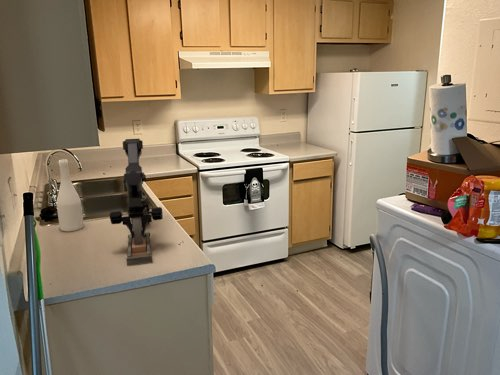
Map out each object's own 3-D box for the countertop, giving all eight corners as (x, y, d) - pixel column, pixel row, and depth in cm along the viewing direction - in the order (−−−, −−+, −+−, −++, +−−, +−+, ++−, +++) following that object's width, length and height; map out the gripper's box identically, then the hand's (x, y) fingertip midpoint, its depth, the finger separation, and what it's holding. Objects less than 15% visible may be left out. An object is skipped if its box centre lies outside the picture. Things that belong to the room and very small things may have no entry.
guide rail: (128, 240, 162) (127, 233, 161) (150, 238, 164) (149, 231, 163) (126, 265, 140) (126, 257, 139) (152, 262, 142) (151, 254, 141)
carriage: (132, 245, 153) (129, 216, 150) (145, 244, 154) (143, 214, 151) (132, 252, 147) (129, 222, 144) (146, 251, 148) (143, 220, 145)
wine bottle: (64, 224, 180) (55, 158, 173) (86, 223, 181) (78, 157, 174) (56, 232, 171) (46, 162, 164) (80, 231, 172) (71, 161, 165)
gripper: (107, 190, 146) (108, 229, 139) (160, 186, 151) (164, 224, 143) (110, 205, 156) (112, 242, 148) (160, 200, 160) (164, 237, 153)
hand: (138, 236), depth 148 cm, fingers closed on carriage, 3 cm apart
